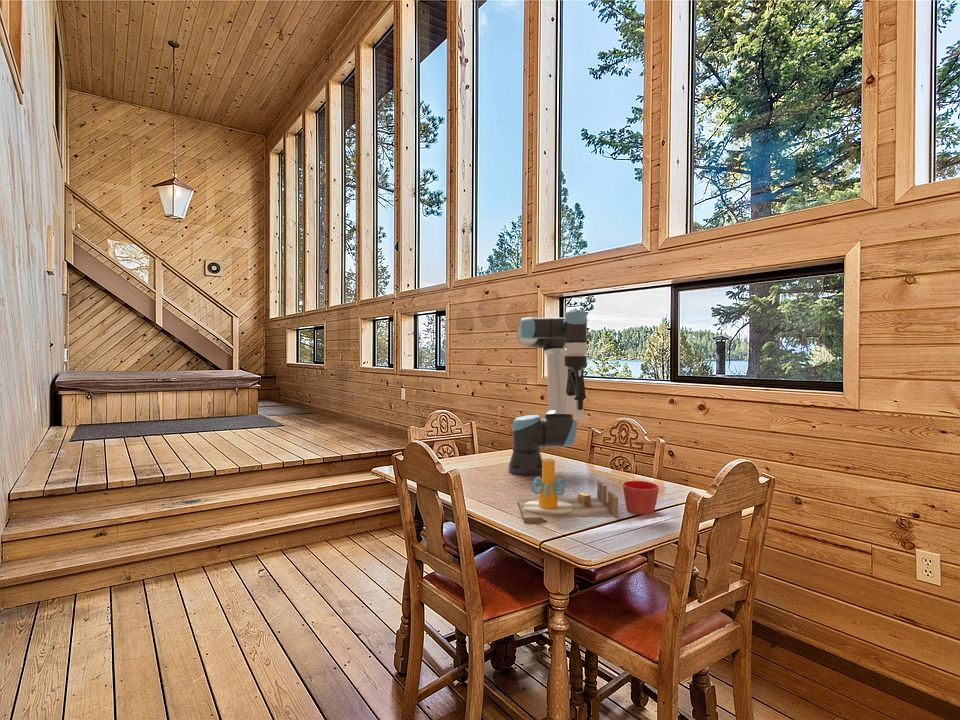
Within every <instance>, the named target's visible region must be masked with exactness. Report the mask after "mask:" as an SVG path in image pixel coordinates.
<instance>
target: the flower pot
mask: <svg viewBox="0 0 960 720" xmlns="http://www.w3.org/2000/svg"><path fill="white" fill-rule="evenodd" d="M622 487H623V488H622V489H623V495H624V501H625V502H624V503H625V507H626V511H627V512H629V513H632V514H635V515H645V516H646V515H648V516H649V515H653V514H654V513H655V509H656V506H657V500H658V495H659V490H660V486H659V485H658V484H657V483H654V482H651V481H650V482H649V481H643V480H628V481H624V482H622ZM647 519H649V518H647Z"/></svg>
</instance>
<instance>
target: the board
mask: <svg viewBox="0 0 960 720" xmlns="http://www.w3.org/2000/svg"><path fill="white" fill-rule="evenodd" d="M596 481H597V482H596V483H597V485H596V486H597V487H596V491H597V492H596V494H597V495H596V496H597V497H591V504H590V505H583V504H581V503H579V502H578V497H558V506H557V507H556V508H553V509H546V508H542V507H540V506H539V497H531V498H529V497H524V498H523V497H520V498H516V500H517V502H516V503H517V506H518V509H519V512H520V515H521V517H522V521H523V523H524V524H525V523H527V524H529V523H531V524H533V523H534V524H535V523H536V524H537V523H548V520H546V519H545V518H547V519H548V518H551V519H552V518H553V519H554V518H555V519H556V518H561V519H562V518H565V519H566V518H620V516H619V497H618V495H616V494H615V493H614V491H613V490H610V489H609V490H608V485H606V484H605V483H604V482H603V481H602V480H601V479H598V480H596Z"/></svg>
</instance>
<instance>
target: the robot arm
mask: <svg viewBox="0 0 960 720" xmlns="http://www.w3.org/2000/svg"><path fill="white" fill-rule="evenodd" d="M587 317H588V313H587V312H586V311H585V310H581V309H580V310H578V309H576V310H575V309H574V310H572V309H570V310H566V311H565V312H564V317H532V316H531V317H522V318H521V319H520V321H519V322H520V323H519V326H518V328H517V329H516V332H515V333H516V338H517V340H518V341H519V343H520V344H522V345H524V346H526V347H529V348H533V349H534V348H535V349H542V350H543V354H544V355H546V358H547V359H546V361H547V362H546V363H547V368H546V369H547V395H548V396H547V401H548V402H547V403H548V407H547V408H548V410H547V412H546V413H545V414H544V418H542V417H541V415H540V414H539V415H538V414H531V415H530V414H529V415H523V416H519V417H516V418H514V420H513V422H512V454H511V457H510V460H509V464H508V472H509V473H511V474H513V475H514V474H515V475H520V476H535V475H542V459H543V458H542V454H541V447H547V448H548V447H553V448H554V447H560V448H563V447H564V448H565V447H571V446H573V445H574V444H575V441H576V438H577V433H578V430H577V429H578V422H577V420H584V419H585V415H584V414H585V399H586V398H587V396H586V388H585V387H586V386H585V377H584V372H585V371H584V370H583V369H581V368H585V367H587V366H588V365H587V362H588V361H587V359H588V358H587V356H586V355H587V353H588V350H587V349H588V343H587V341H588V340H587V339H588V337H587V334H588V318H587ZM573 415H574V416H575V417H573Z"/></svg>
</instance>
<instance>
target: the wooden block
mask: <svg viewBox="0 0 960 720" xmlns="http://www.w3.org/2000/svg"><path fill="white" fill-rule="evenodd" d="M577 498H578V502H579V503H581V504H583V505H590V504H591V498H592V495H591V494H589V493H587V492H584V491H581V492H577Z"/></svg>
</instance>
